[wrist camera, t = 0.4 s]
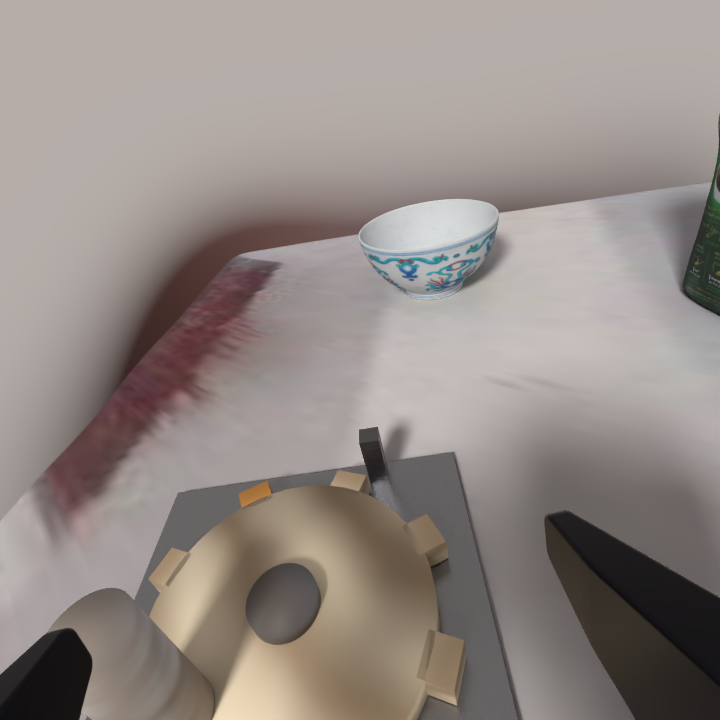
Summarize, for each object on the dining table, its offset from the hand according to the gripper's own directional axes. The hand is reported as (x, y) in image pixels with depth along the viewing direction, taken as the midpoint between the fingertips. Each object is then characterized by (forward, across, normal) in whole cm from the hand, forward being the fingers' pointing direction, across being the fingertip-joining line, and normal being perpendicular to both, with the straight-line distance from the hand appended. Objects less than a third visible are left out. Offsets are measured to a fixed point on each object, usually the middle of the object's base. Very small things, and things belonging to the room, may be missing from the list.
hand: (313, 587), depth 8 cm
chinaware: (+45, -12, +7) cm, 47 cm away
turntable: (+11, +5, +13) cm, 18 cm away
